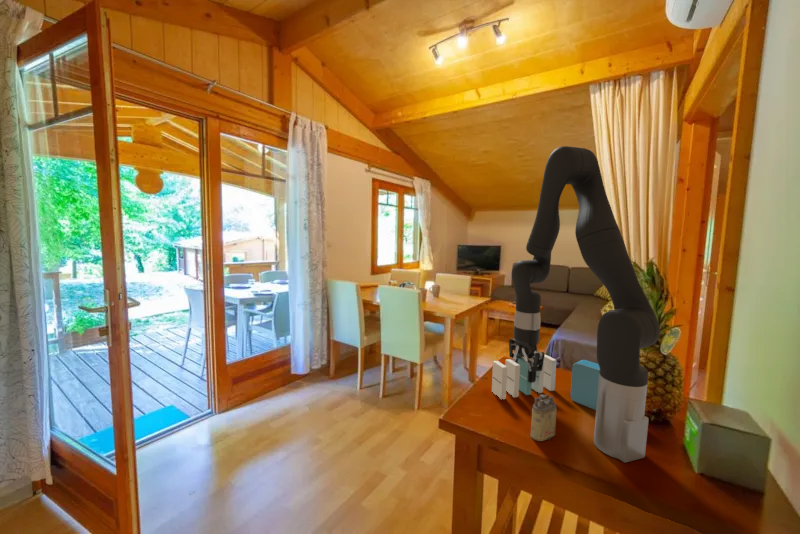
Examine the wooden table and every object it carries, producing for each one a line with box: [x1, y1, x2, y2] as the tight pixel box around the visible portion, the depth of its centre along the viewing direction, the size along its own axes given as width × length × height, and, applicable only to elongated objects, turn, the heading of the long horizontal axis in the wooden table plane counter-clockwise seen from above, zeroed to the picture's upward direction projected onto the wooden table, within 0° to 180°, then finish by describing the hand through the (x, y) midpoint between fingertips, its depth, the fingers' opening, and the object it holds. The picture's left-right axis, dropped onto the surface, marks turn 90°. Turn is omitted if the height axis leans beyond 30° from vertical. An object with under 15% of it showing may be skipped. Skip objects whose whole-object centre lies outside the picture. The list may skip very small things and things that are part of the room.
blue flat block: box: [570, 359, 600, 411], centre depth 97 cm, size 12×4×12 cm, turn 38°
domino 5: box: [543, 353, 557, 392], centre depth 108 cm, size 2×5×10 cm, turn 18°
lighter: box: [530, 393, 558, 442], centre depth 83 cm, size 7×4×10 cm, turn 120°
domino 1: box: [491, 360, 507, 400], centre depth 103 cm, size 2×5×10 cm, turn 18°
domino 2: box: [504, 358, 520, 398], centre depth 104 cm, size 2×5×10 cm, turn 18°
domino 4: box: [529, 357, 545, 394], centre depth 107 cm, size 2×5×10 cm, turn 18°
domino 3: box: [518, 357, 533, 396], centre depth 105 cm, size 2×5×10 cm, turn 18°
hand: (524, 377), depth 105 cm, fingers open, 6 cm apart
